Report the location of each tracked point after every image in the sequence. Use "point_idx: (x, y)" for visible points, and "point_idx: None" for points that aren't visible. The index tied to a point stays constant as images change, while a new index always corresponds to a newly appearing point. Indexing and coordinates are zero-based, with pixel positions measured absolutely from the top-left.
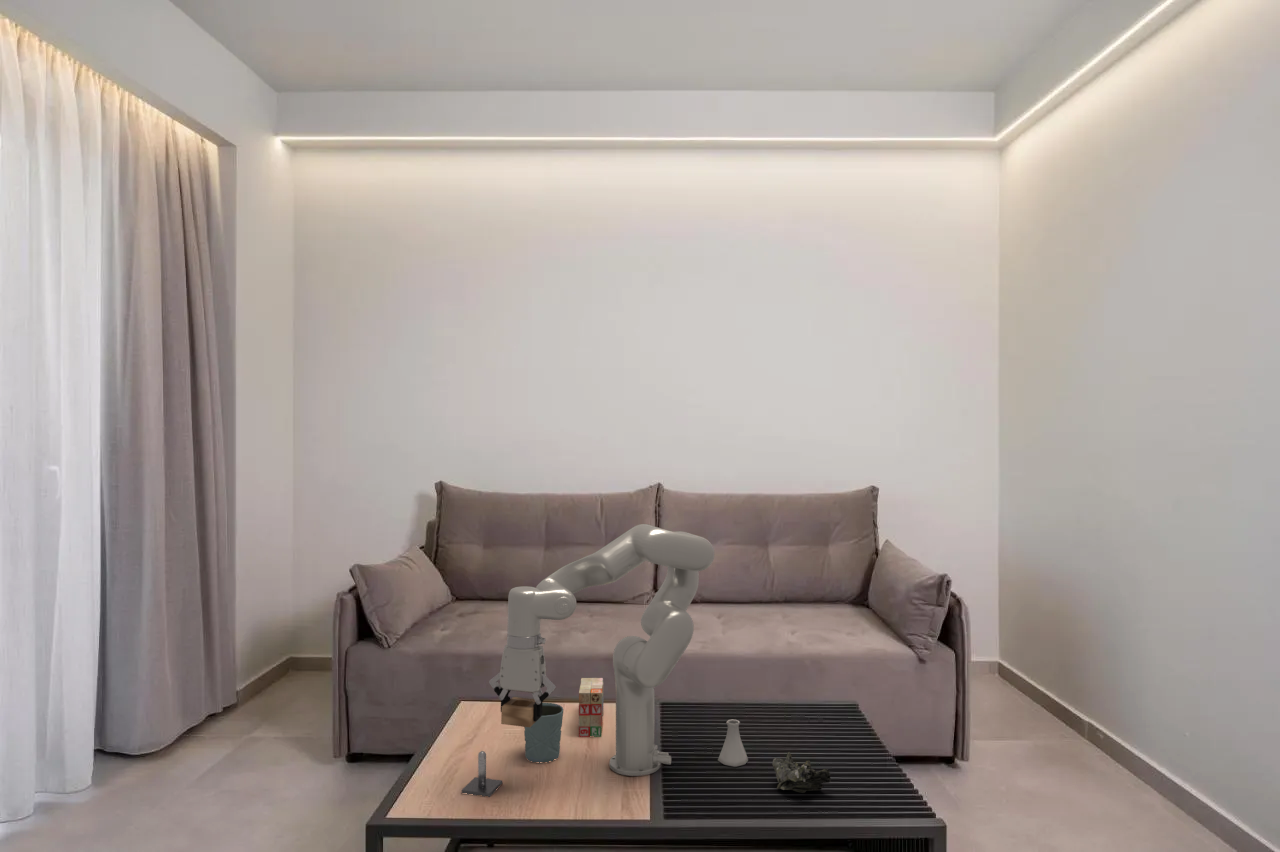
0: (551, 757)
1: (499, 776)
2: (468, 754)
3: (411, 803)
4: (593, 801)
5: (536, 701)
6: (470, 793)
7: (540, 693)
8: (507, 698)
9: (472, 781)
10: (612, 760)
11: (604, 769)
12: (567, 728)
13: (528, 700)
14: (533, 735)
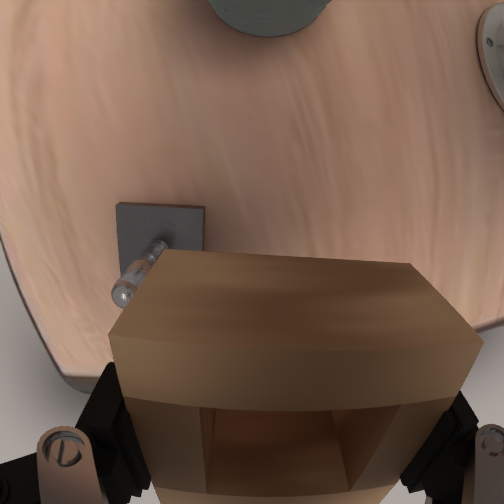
0: (313, 19)
1: (176, 157)
2: (44, 51)
3: (62, 330)
4: (462, 265)
5: (433, 497)
6: None
7: (495, 493)
8: (125, 465)
9: (122, 232)
10: (490, 53)
11: (472, 78)
12: None
13: (349, 397)
14: (249, 6)
